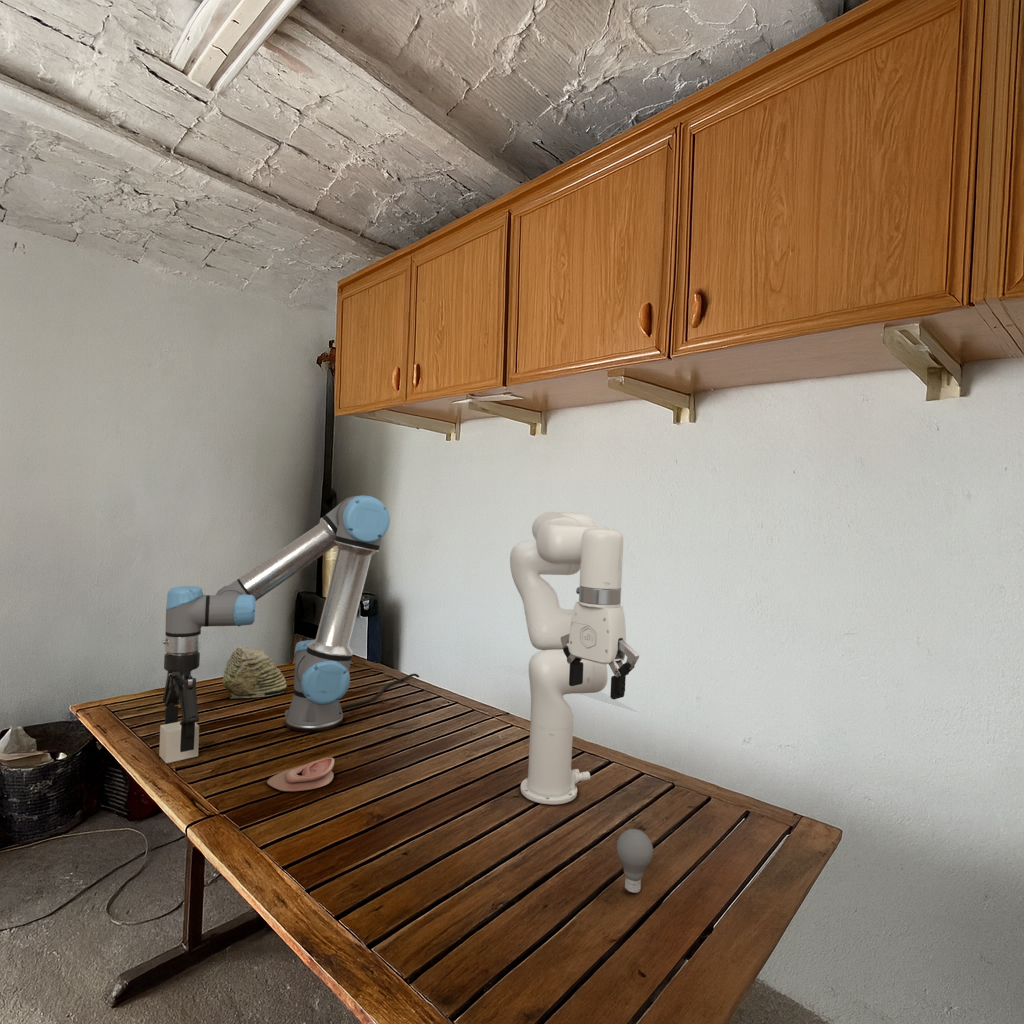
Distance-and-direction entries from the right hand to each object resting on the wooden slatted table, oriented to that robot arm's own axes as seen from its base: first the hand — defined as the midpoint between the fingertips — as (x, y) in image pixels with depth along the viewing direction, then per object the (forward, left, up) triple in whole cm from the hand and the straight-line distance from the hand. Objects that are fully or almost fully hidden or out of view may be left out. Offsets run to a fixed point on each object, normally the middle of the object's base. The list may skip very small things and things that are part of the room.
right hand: (595, 691), depth 115 cm
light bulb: (-2, +11, -31) cm, 33 cm away
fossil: (+53, -114, -31) cm, 129 cm away
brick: (+71, -70, -31) cm, 105 cm away
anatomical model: (+45, -48, -31) cm, 73 cm away
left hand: (+71, -70, -27) cm, 104 cm away
